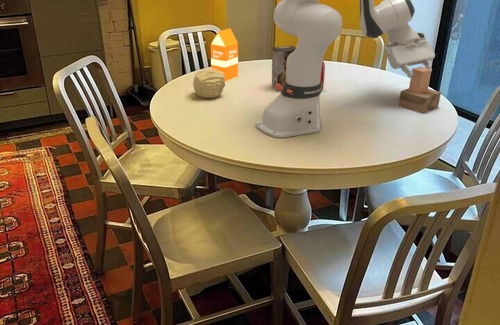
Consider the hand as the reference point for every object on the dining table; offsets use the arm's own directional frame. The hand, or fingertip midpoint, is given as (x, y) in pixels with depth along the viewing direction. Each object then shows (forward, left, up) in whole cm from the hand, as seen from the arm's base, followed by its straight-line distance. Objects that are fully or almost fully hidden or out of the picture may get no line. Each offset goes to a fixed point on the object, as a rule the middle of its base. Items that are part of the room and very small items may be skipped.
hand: (420, 74), depth 171 cm
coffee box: (-29, +42, -12) cm, 52 cm away
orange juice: (-42, +67, -12) cm, 80 cm away
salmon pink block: (0, 0, -6) cm, 6 cm away
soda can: (-20, +34, -12) cm, 41 cm away
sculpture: (-59, +50, -12) cm, 78 cm away
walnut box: (0, -1, -12) cm, 12 cm away
